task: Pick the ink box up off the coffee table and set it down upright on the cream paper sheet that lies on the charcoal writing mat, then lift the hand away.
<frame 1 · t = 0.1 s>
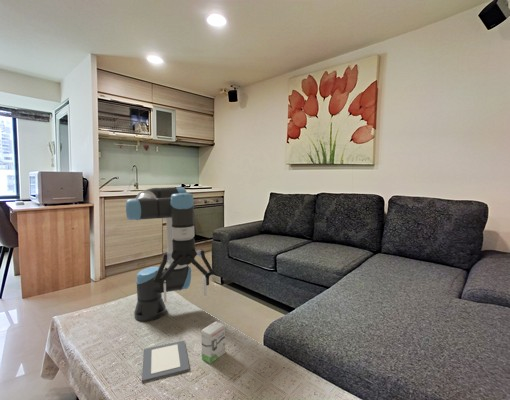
hand: (185, 297, 95), 28 cm above the table, tool pointing down, fingers open, 13 cm apart
writing mat: (165, 360, 104), on the table
ink box: (213, 356, 106), on the table
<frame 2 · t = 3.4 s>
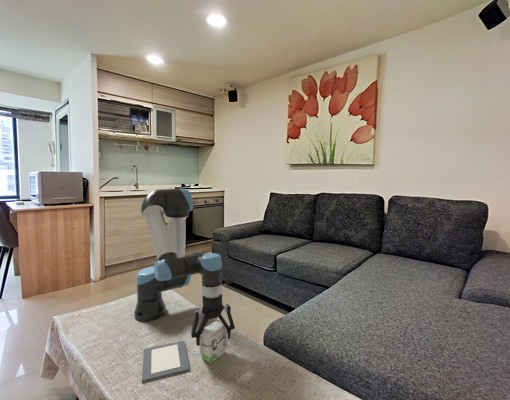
hand: (213, 349, 106), 3 cm above the table, tool pointing down, fingers closed on ink box, 9 cm apart
ink box: (213, 356, 106), on the table, touching gripper
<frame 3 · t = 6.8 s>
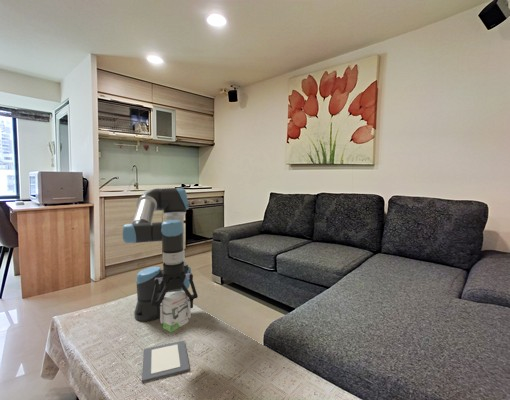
hand: (175, 318, 103), 16 cm above the table, tool pointing down, fingers closed on ink box, 9 cm apart
ink box: (176, 325, 104), point 13 cm above the table, touching gripper
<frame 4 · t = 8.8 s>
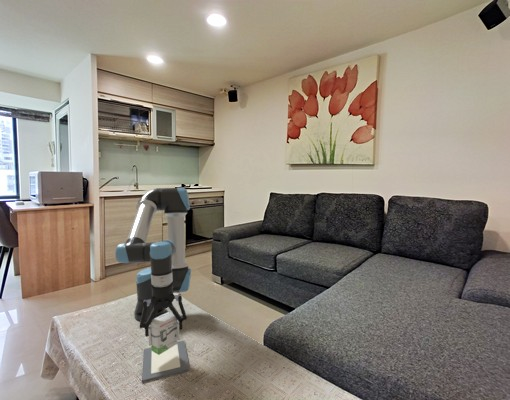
hand: (164, 340, 103), 8 cm above the table, tool pointing down, fingers closed on ink box, 9 cm apart
ink box: (164, 347, 103), point 5 cm above the table, touching gripper
when the fingers open (5 cm above the table, at t = 10.3 s): ink box drops 1 cm, resting on writing mat.
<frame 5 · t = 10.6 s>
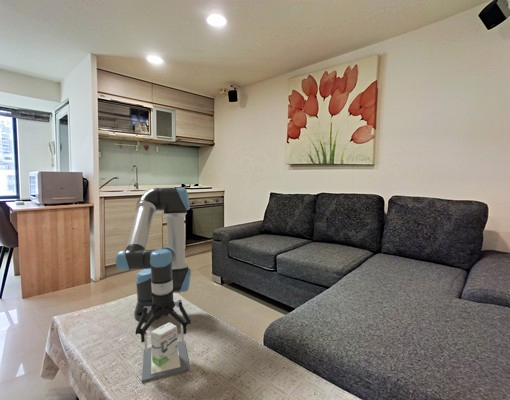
hand: (164, 345, 103), 6 cm above the table, tool pointing down, fingers open, 12 cm apart
ink box: (165, 358, 104), point 1 cm above the table, touching writing mat
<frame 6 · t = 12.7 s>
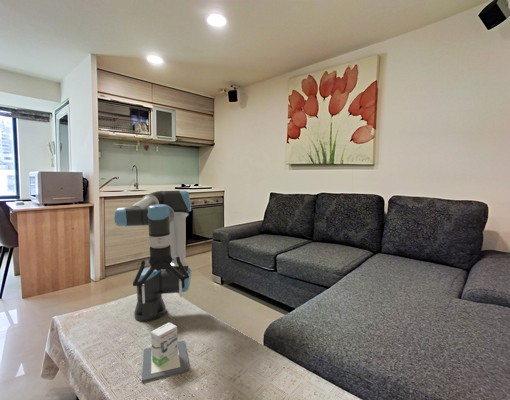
hand: (162, 298, 105), 23 cm above the table, tool pointing down, fingers open, 13 cm apart
nothing on the table moved.
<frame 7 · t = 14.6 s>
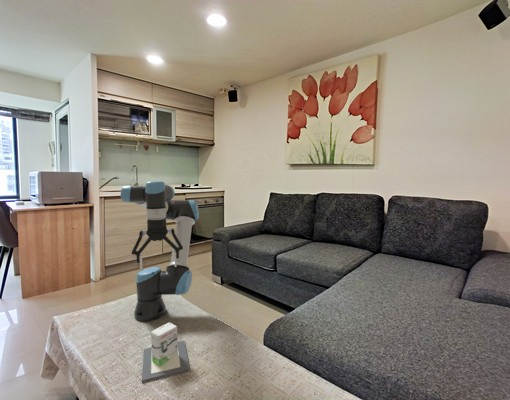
hand: (158, 268, 115), 32 cm above the table, tool pointing down, fingers open, 13 cm apart
nothing on the table moved.
at the end: ink box inside the target area on the writing mat (0.0 cm from its centre), point 0.8 cm above the writing mat's base; ink box tilted 0°; the gripper is holding nothing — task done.
